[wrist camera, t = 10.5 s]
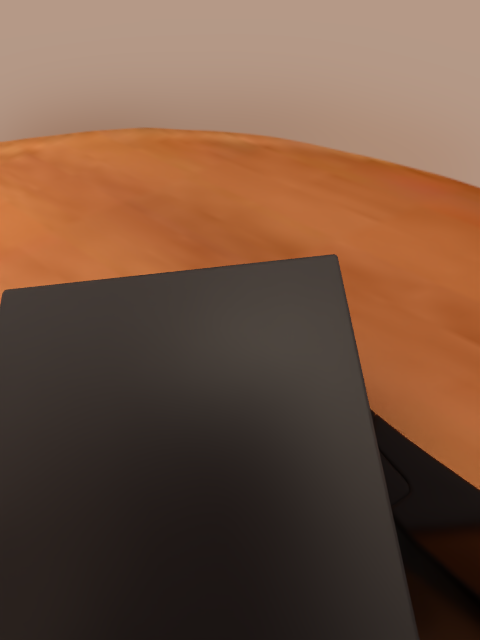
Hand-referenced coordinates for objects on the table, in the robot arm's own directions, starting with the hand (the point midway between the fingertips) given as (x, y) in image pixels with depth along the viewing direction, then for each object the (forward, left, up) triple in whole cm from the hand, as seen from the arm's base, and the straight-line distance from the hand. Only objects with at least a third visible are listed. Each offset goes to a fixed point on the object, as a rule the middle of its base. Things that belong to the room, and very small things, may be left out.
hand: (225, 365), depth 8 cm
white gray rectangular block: (-1, -1, -7) cm, 7 cm away
